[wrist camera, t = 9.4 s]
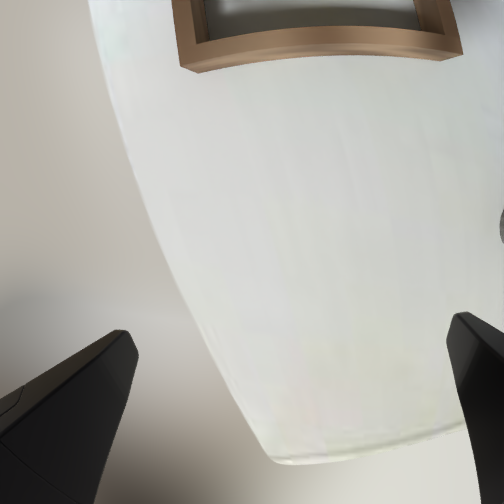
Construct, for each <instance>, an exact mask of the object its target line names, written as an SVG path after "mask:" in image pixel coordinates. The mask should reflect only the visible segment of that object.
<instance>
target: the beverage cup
mask: <svg viewBox="0 0 504 504" xmlns="http://www.w3.org/2000/svg"><path fill="white" fill-rule="evenodd" d="M500 236H501V239H502V241H503V243H504V211H503V213H502V216H501V221H500Z"/></svg>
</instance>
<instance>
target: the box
mask: <svg viewBox="0 0 504 504" xmlns="http://www.w3.org/2000/svg"><path fill="white" fill-rule="evenodd" d="M171 1H172V9H173V17H174V25H175V33H176V40H177V47H178V54H179V61H180V66H181V67H183V68H186V69H188V70H191V71H193V72H196V73H202V72H207V71H211V70H216V69H221V68H226V67H231V66H237V65H243V64H249V63H255V62H262V61H270V60H278V59H287V58H298V57H311V56H332V55H375V56H395V57H408V58H418V59H427V60H435V61H443V60H446V59H450V58H453V57H457V56H460V55H463V50H462V46H461V41H460V36H459V32H458V28H457V24H456V20H455V17H454V13H453V10H452V6H451V3H450V0H413V2H414V5H415V9H416V12H417V16H418V20H419V24H420V28H421V31H416V30H408V29H399V28H388V27H373V26H315V27H299V28H287V29H278V30H270V31H262V32H255V33H249V34H243V35H237V36H232V37H227V38H222V39H217V40H213V41H210V40H209V33H208V27H207V20H206V14H205V7H204V1H203V0H171Z"/></svg>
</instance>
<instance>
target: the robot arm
mask: <svg viewBox="0 0 504 504" xmlns="http://www.w3.org/2000/svg"><path fill="white" fill-rule="evenodd" d="M446 343H447V348H448V352H449V357H450V361H451V365H452V370H453V374H454V379H455V384H456V388H457V392H458V396H459V400H460V403H461V406H462V410H463V413H464V417H465V421H466V425H467V429H468V433H469V437H470V441H471V446H472V450H473V454H474V460H475V465H476V471H477V477H478V483H479V489H480V497H481V504H504V333H503V332H501V331H499V330H498V329H496V328H495V327H493V326H491V325H490V324H488V323H486V322H485V321H483V320H481V319H480V318H478V317H476V316H474V315H473V314H471V313H469V312H460V313H456V314H454V316H453V318H452V321H451V325H450V328H449V331H448V335H447V340H446ZM138 356H139V354H138V350H137V348H136V346H135V343H134V341H133V339H132V337H131V335H130V333H129V332H128V331H126V330H114V331H112V332H110V333H109V334H107V335H105V336H104V337H102V338H100V339H99V340H97V341H95V342H94V343H92V344H90V345H89V346H87V347H85V348H84V349H82V350H81V351H79V352H77V353H76V354H74V355H72V356H71V357H69V358H67V359H66V360H64V361H62V362H61V363H59V364H57V365H56V366H54V367H53V368H51V369H49V370H48V371H46V372H44V373H43V374H41V375H39V376H38V377H36V378H34V379H33V380H31V381H30V382H28V383H26V384H25V385H23V386H21V387H20V388H18V389H16V390H15V391H13V392H11V393H9V394H8V395H6V396H4V397H3V398H1V399H0V504H94V501H95V497H96V494H97V491H98V487H99V484H100V481H101V478H102V474H103V471H104V468H105V464H106V462H107V459H108V455H109V452H110V449H111V446H112V443H113V440H114V437H115V435H116V431H117V429H118V426H119V423H120V420H121V417H122V414H123V412H124V409H125V406H126V403H127V400H128V396H129V393H130V389H131V384H132V381H133V377H134V373H135V369H136V366H137V362H138V358H139V357H138Z"/></svg>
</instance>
